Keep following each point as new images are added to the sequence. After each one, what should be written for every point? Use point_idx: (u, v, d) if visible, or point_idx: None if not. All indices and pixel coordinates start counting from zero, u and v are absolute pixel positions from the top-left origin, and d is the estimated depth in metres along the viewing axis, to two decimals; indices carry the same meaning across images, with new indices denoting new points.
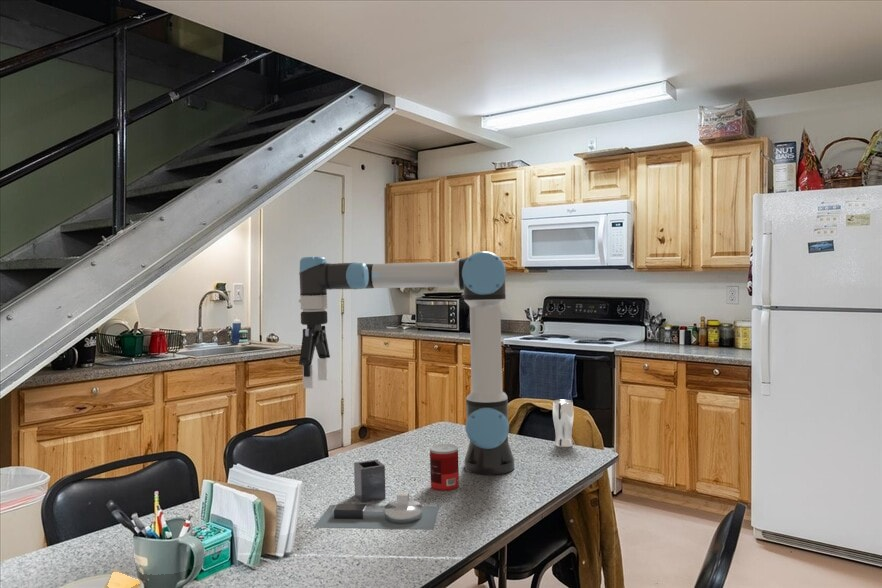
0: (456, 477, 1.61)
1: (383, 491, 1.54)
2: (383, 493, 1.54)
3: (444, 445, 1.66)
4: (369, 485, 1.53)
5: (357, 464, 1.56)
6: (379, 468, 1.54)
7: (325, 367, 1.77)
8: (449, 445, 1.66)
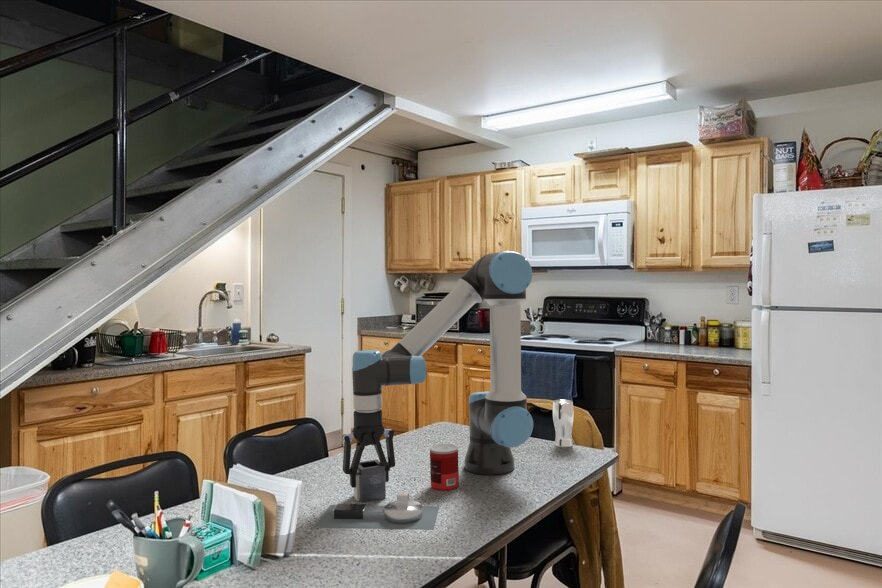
0: (456, 477, 1.61)
1: (383, 491, 1.54)
2: (383, 493, 1.54)
3: (444, 445, 1.66)
4: (369, 485, 1.53)
5: None
6: (379, 468, 1.54)
7: None
8: (449, 445, 1.66)
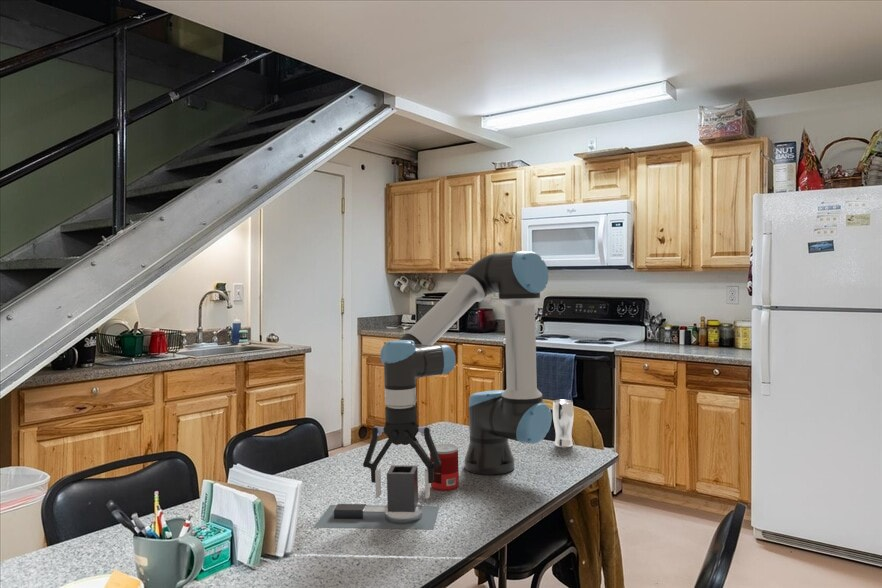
0: (456, 477, 1.61)
1: (412, 502, 1.39)
2: (412, 504, 1.39)
3: (444, 445, 1.66)
4: (396, 492, 1.39)
5: (392, 467, 1.44)
6: (407, 475, 1.39)
7: (425, 481, 1.40)
8: (449, 445, 1.66)
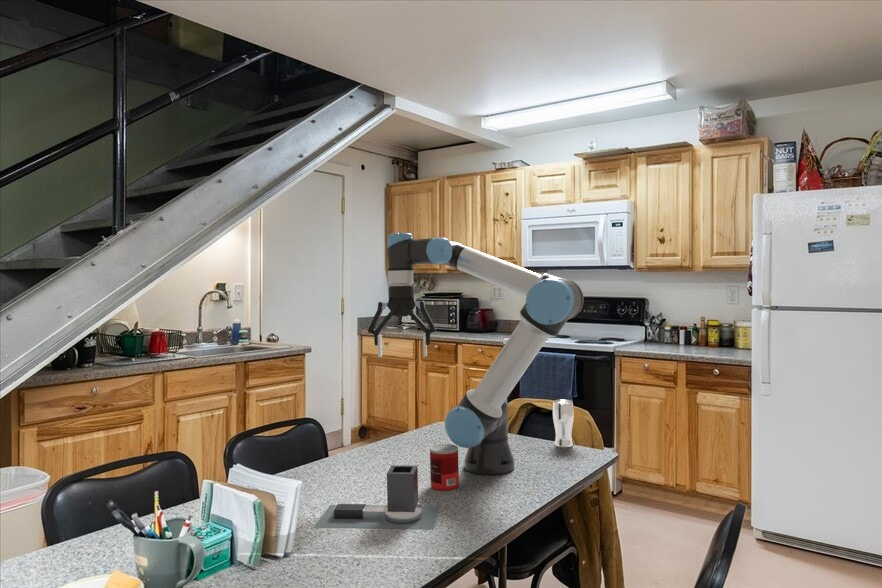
0: (456, 477, 1.61)
1: (412, 502, 1.39)
2: (412, 504, 1.39)
3: (444, 445, 1.66)
4: (396, 492, 1.39)
5: (392, 467, 1.44)
6: (407, 475, 1.39)
7: (423, 343, 1.75)
8: (449, 445, 1.66)
